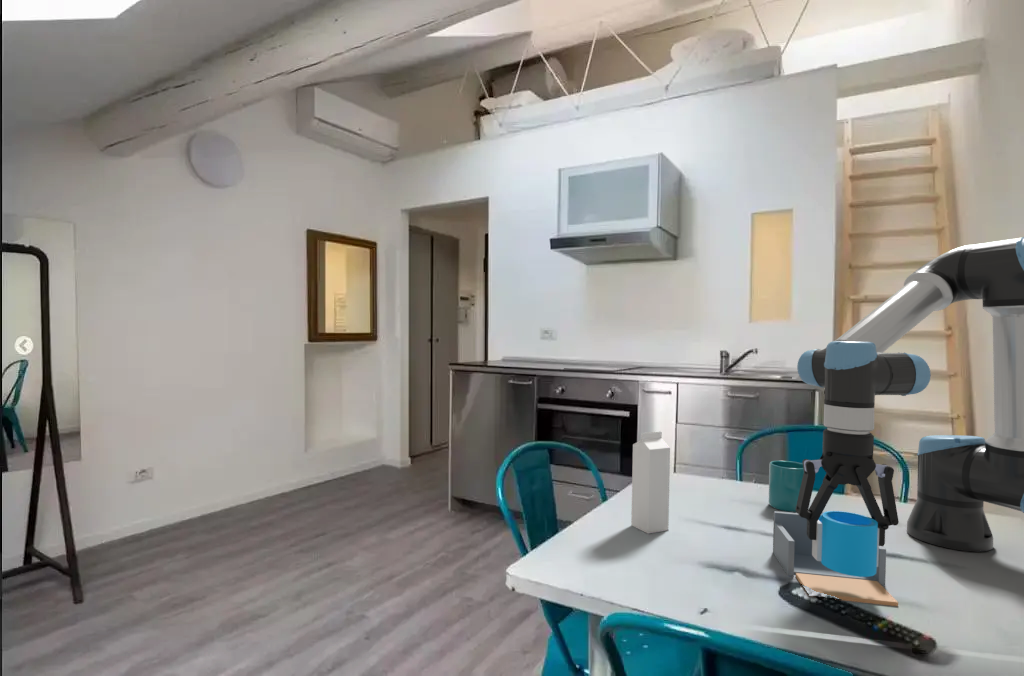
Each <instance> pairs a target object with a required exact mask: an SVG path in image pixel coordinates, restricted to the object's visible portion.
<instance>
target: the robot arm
mask: <svg viewBox="0 0 1024 676" xmlns="http://www.w3.org/2000/svg"><path fill="white" fill-rule="evenodd" d="M969 300H982V309H983V310H984V311H986V312H987V313H989V314H990V316H991V317H992V356H993V357H992V359H993V360H992V361H993V403H994V404H993V406H994V407H993V408H994V409H993V411H994V412H993V413H994V415H993V416H994V417H993V418H994V433H993V434H992V435H990V436H989V437H987V438H986V439H985V437H982V436H975V435H960V434H959V435H955V434H954V435H953V434H951V435H949V434H941V435H940V434H939V435H938V434H937V435H933V434H932V435H927V436H923V437H921V438H920V439H919V442H918V449H917V450H918V451H917V453H916V456H917V484H916V486H917V489H916V490H917V491H916V492H917V493H916V501H915V503H914V505H913V507H912V509H911V512H910V514H909V516H908V519H907V521H906V533H907V534H909V535H910V536H911V537H913V538H914V539H917V540H919V541H922V542H924V543H927V544H929V545H933V546H937V547H941V548H946V549H952V550H958V551H964V552H988V551H991V550H993V549H994V536H993V533H992V530H991V527H990V523H989V522H988V518H987V516H986V513H985V511H984V510H985V509H984V503H988V504H992V505H995V506H1000V507H1003V508H1007V509H1010V510H1016V511H1019V512H1022V513H1023V514H1024V236H1021V237H1017V238H1009V239H1001V240H996V241H995V240H994V241H989V242H988V241H987V242H982V243H980V242H979V243H972V244H966V245H963V246H959V247H956V248H953V249H951V250H948V251H946V252H944V253H942V254H940V255H939V256H937V257H935V258H933V259H931V260H929V261H928V262H927V263H925V264H924V265H922V266H921V267H919V268H917V269H916V270H915V271H913V272H912V273H911V274H910V275H908V276H907V277H906V279H905V281H904V282H903V286H902V287H901V288H900V289H899V290H898V291H895V293H894V294H892V295H891V296H890V297H888V299H885V301H883V302H882V303H880V305H878V306H876V307H875V309H873V310H872V311H870V312H869V313H868V314H867V315H866V316H864V317H863V318H862V319H861V320H859V321H858V322H857V323H856V324H854V325H853V326H852V327H850V328H849V329H848V330H847V331H845V332H844V333H843V334H842V335H841V336H839V337H838V338H836V339H835V340H832V341H830V342H828V344H827V345H826V347H825V348H823V349H821V348H816V349H809V350H806V351H804V352H802V354H801V355H800V356H799V359H798V361H797V366H796V367H797V373H798V376H799V377H800V379H801V381H802V382H803V383H805V384H807V385H809V386H814V387H819V388H822V389H823V388H824V400H823V402H824V403H823V426H824V427H826V428H824V429H823V431H822V454H821V456H820V458H818V459H812V460H811V459H807V458H805V459H802V462H801V463H802V464H803V469H804V474H803V478H802V483H801V487H800V492H799V496H798V501H797V505H796V512H795V513H798V514H799V515H800V516H801V517H802V518H806V519H807V536H808V538H809V539H810V540H812V556H813V557H814V558H815V559H816V560H817V561H821V560H822V523H821V522H820V521H819V520H818V519H819V517H820V516H821V515H822V513H824V510H825V508H826V506H827V504H828V503H829V500H830V498H831V497H832V495H833V493H834V491H835V490H836V489H837V488H838V487H839V485H848V484H849V485H852V486H856V487H857V489H858V491H859V493H860V495H861V498H862V500H863V502H864V504H865V506H866V509H867V510H868V511H867V512H868V513H869V515H870V516H869V517H870V518H872V519H874V520H876V521H877V522H878V533H877V567H878V560H879V546H883V547H884V546H885V544H886V538H885V537H886V530H889V528H890V527H889V526H898V525H899V524H900V523H899V515H898V511H897V505H896V497H895V493H894V492H895V491H894V485H893V478H894V474H895V470H894V468H893V467H891V466H890V465H888V464H886V463H881V464H879V463H876V462H875V460H874V443H875V442H874V440H875V435H873V433H872V432H873V431H874V430H875V402H876V401H875V400H876V398H875V397H876V396H902V397H906V396H908V395H917V394H919V393H921V392H922V391H924V390H925V389H927V387H928V386H929V383H930V381H931V369H930V366H929V364H928V362H927V361H926V360H925V359H924V358H923V357H921V356H919V355H917V354H915V353H907V352H886V351H887V350H888V349H889V348H890V347H892V346H893V345H894V344H896V342H898V341H900V339H901V338H902V337H904V336H905V335H906V334H907V333H909V332H910V331H911V330H912V329H914V328H915V327H916V326H918V325H919V324H920V323H921V322H922V321H924V320H925V319H926V318H927V317H928V316H930V315H931V314H932V313H934V312H939V311H942V310H944V309H946V308H948V307H949V306H950V305H951V304H953V303H954V304H955V303H957V302H961V301H969ZM820 467H821V468H822V469H823V470H824V472H825V475H824V477H823V480H822V483H821V485H820V487H819V489H818V491H817V493H816V494H815V497H814V498H813V500H812V502H811V498H812V494H813V489H814V487H815V485H814V484H815V481H816V474H817V473H818V472H819V470H820ZM873 472H875V475H876V476H877V478H878V480H877V481H878V488H879V492H880V499H881V505H882V511H883V513H882V511H881V509H880V507H879V504H878V501H877V499H876V497H875V494H874V493H873V490H872V486H871V483H870V482H869V480H868V478H869V477H870V476H871V475H872V473H873ZM810 503H811V504H810Z"/></svg>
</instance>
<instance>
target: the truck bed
mask: <svg viewBox="0 0 1024 676" xmlns="http://www.w3.org/2000/svg"><path fill="white" fill-rule="evenodd" d="M772 554H773V555H774V557H775V558H776V560H777V562H779V564H780V566H781V567H782V570H784V572H785V573H786V575H787V576H788V577H795V575H796V573H801V574H811V575H821V576H831V577H841V578H851V579H861V580H871V581H878V582H879V583H880V584H881V585H882V586H886V573H887V572H886V571H887V565H886V564H887V549H886V548H885V547H884V546H879V560H878V567H877V568H876V574H875V575H874V576H869V577H858V576H851V575H846V574H842V573H839V572H836V571H833V570H831V569H829V568H827V567H825V566H824V565H823V564H822V563H821V561H817V560H816V559H815V558H814V557H813V556H812V540H810V539H809V538H808V536H807V519H806V518H802V517H801V516H800V515H799V514H798V513H797V512H788V511H778V510H777V511H775V510H774V511H773V535H772Z"/></svg>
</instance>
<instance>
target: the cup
mask: <svg viewBox="0 0 1024 676" xmlns="http://www.w3.org/2000/svg"><path fill="white" fill-rule="evenodd" d="M768 466H769V468H768V469H769V473H768V504H769V505H770V507H772V508H774V509H776V510H777V511H778V510H779V511H781V512H791V513H797V512H796V505H797V501H798V496H799V492H800V487H801V483H802V478H803V474H804V469H803V463H802V462H797V461H791V460H790V461H789V460H771V461H770V462H769V465H768Z"/></svg>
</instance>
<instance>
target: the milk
mask: <svg viewBox="0 0 1024 676" xmlns="http://www.w3.org/2000/svg"><path fill="white" fill-rule="evenodd" d="M640 436H641V437H640V440H639V441H637V442H635V443H633V444H632V472H631V473H632V474H631V475H632V477H631V516H630V517H631V520H630V521H631V523H630V524H631V527H634V528H636V529H637V530H640V531H642V532H644V533H646V534H655V533H659V532H664V531H669V520H670V519H669V518H670V473H671V472H670V471H671V470H670V468H671V467H670V466H671V465H670V463H671V447H670V446H669V445H668V443H667V442H666V441H665V440H664V439H663V434H662V431H650V432H641V434H640Z"/></svg>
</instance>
